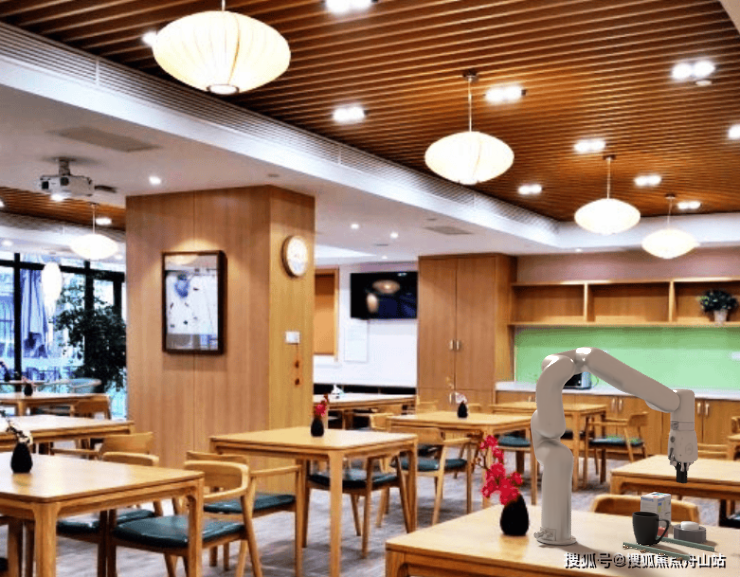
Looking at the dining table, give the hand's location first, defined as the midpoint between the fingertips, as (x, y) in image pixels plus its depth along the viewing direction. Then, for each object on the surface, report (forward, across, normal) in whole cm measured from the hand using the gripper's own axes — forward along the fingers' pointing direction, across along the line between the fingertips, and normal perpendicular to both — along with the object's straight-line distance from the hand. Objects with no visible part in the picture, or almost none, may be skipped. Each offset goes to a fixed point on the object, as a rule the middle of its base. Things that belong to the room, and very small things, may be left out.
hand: (681, 482), depth 295 cm
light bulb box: (+19, +10, +18) cm, 28 cm away
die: (+19, -3, +5) cm, 20 cm away
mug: (+19, -14, 0) cm, 24 cm away
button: (+18, +2, -2) cm, 18 cm away
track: (+19, -14, -6) cm, 24 cm away
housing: (+19, +2, -2) cm, 19 cm away
